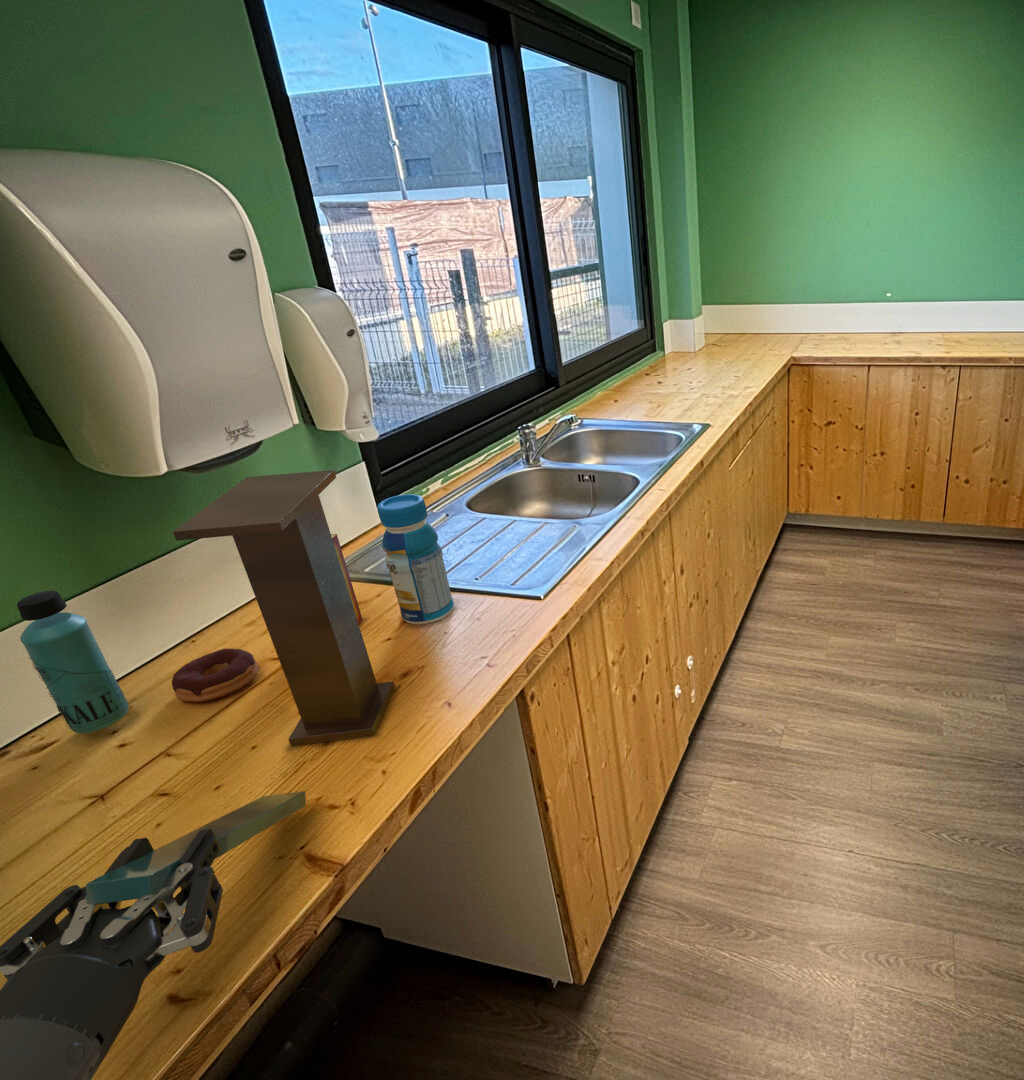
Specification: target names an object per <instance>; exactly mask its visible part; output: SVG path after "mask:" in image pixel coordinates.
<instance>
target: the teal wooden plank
mask: <svg viewBox="0 0 1024 1080" xmlns="http://www.w3.org/2000/svg"><path fill="white" fill-rule="evenodd" d="M306 799H307V797H306V791H305V790H304V791H303V790H302V791H295V792H287V793H278V794H270V795H263V796H261V797H258V798H257V799H255V800H252V801H250V802H248V803H246V804H244V805H243V806H240V807H238V808H237V809H234V810H233V811H231V812H228V813H226V814H224V815H222V816H220V817H218V818H216V819H214V820H212V821H210V822H208V823H206V824H204V825H201V826H199V827H198V828H196V829H194V830H192V831H190V832H188V833H186V834H184V835H182V836H180V837H178V838H176V839H173V840H172V841H170V842H167V843H166V844H164V845H162V846H160V847H158V848H156V849H154V851H152V852H150V853H148V854H146V855H144V856H142V857H140V858H138V859H136V860H133V861H131V862H129V863H127V864H125V865H123V866H121V867H119V868H117V869H115V870H113V871H111V872H109V873H107V874H105V873H104V874H105V875H104V874H102V875H103V876H101V875H100V876H101V877H99V876H98V877H99V878H97V877H96V878H97V879H96V878H94V880H91V881H89V882H87V883H86V884H85V886H86V898H87V904H89V903H96V904H104V903H111V902H119V901H122V902H125V901H132V900H133V901H134V900H138V899H139V898H140V897H141V896H144V895H150V894H151V893H152V892H153V890H154V889H155V888H156V887H161V886H162V885H163V884H164V882H165V881H166V879H167V878H168V876H169V875H170V874H171V873H172V872H173V871H174V870H175V869H176V868H177V867H179V865H178V863H179V861H180V860H181V857H182V856H183V854H184V853H185V851H186V850H187V848H188V847H189V845H190V844H191V842H192V841H193V839H194V838H195V836H196V835H197V833H198V832H199V831H200V830H204V829H212V831H213V833H214V834H215V836H216V838H217V840H218V842H219V844H220V852H219V853H218V855H217V856H216V858H215V860H217V859H218V858H220V857H221V856H223V855H225V854H227V853H228V852H230V851H231V850H233V849H236V848H237V847H238V846H240V845H242V844H244V843H245V842H247V841H248V840H250V839H252V838H254V837H256V836H257V835H259V834H260V833H263V832H264V831H265V830H267V829H269V828H271V827H272V826H274V825H276V824H277V823H279V822H281V821H283V820H284V819H286V818H288V817H289V816H291V815H292V814H293V815H294V813H296V812H298V811H299V810H301V809H303V808H305V807H306V806H307V800H306Z"/></svg>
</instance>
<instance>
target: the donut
mask: <svg viewBox="0 0 1024 1080" xmlns="http://www.w3.org/2000/svg"><path fill="white" fill-rule="evenodd" d="M259 671H260V666H259V663H258V662H257V661H256V659H255V657H254V655H253V653H251V652H249V651H247V650H244V649H242V648H241V649H240V648H222V649H218V650H215V651H213V652H210V653H207V654H204V655H202V656H200V657H197V658H195V659H193V660H191V661H189V662H187V663H185V664H184V665H183V666H182V667H180V668H179V669H178V670H177V671H176V672H175V673H173V676H172V679H171V686H172V690H173V692H174V694H175V697H176V698H177V699H179V700H181V701H185V702H193V703H194V702H197V703H198V702H208V701H212V700H216V699H219V698H222V697H225V696H228V695H230V694H232V693H235V692H236V691H238V690H241V689H242V688H244V687H245V686H246V685H248V684H250V683H251V682H252V681H253V680H254V679H255V678H256V677H257V676H258V674H259Z"/></svg>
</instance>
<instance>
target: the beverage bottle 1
mask: <svg viewBox="0 0 1024 1080" xmlns="http://www.w3.org/2000/svg"><path fill="white" fill-rule="evenodd" d="M16 607H17V610H18V612H19V616H20V617H21V619H22V620H23V621H24V622H25V621H26V622H29V621H32V622H30V623H29V624H28V625H27V626H26V627H25V629H24V630H23V631H22V633H21V635H20V637H19V640H20V642H21V644H22V645H23V646H24V648H25V649H26V652H27V653H28V657H29V660H31V662H32V664H33V665H32V667H33V669H34V670H35V671H36V672H37V676H39V679H40V680H41V681H42V683H43V684H45V685H44V686H46V687H45V690H48V692H47V694H48V695H49V697H50V698H51V701H53V703H54V705H55V707H56V710H57V711H58V713H59V715H60V716H61V719H63V720H64V722H65V726H66V727H67V728H68V729H69V730H70V731H72V732H73V733H76V734H91V733H93V732H97V731H101V730H103V729H106V728H108V727H110V726H113V725H114V724H116V723H118V722H119V721H120V720H122V719H123V718H124V717H126V716H127V714H128V712H129V710H130V704H129V699H128V698H127V697H126V696H125V693H124V691H123V689H122V688H121V687H120V686H121V685H119V683H118V680H117V679H116V677H115V674H114V673H113V670H111V668H110V666H109V664H108V662H107V660H106V658H105V656H104V654H103V652H102V650H101V648H100V646H99V644H98V642H97V640H96V638H95V636H94V634H93V632H92V629H91V628H90V626H89V624H88V620H87V618H86V616H83V615H80V614H77V613H73V612H66V611H65V612H64V610H65V609H66V608H67V602H66V601H65V600H64V599H63V597H62V596H61V594H60V593H59V592H58V591H57V590H45V591H41V592H39V591H38V592H35V593H33V594H32V593H31V594H30V595H27V596H25V597H23V598H21V599H20V600H18V601H17V603H16Z"/></svg>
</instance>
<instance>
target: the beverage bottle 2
mask: <svg viewBox="0 0 1024 1080" xmlns="http://www.w3.org/2000/svg"><path fill="white" fill-rule="evenodd" d="M377 513H378V517H379V521H380V524H381V525H382V526H383V528H385V531H384V533H383V537H382V543H381V546H382V550H383V551H384V552H385V554H386V555H385V560H384V561H385V565H386V567H387V570H388V572H389V575H390V578H391V582H392V585H393V586H392V587H393V589H394V592H395V595H396V599H397V603H398V606H399V607H398V608H399V612H400V616H401V618H402V620H403V621H404V622H406V623H408V624H411V625H427V624H431V623H434V622H438V621H441V620H442V619H444V618H446V617H448V615H449V614H451V613H452V611H453V610H454V607H455V603H454V600H453V596H452V592H451V588H450V584H449V583H450V582H449V579H448V575H447V570H446V566H445V562H444V554H443V548H442V547H441V545H440V544H439V543H438V540H439V535H438V532H437V531H436V530H435V528H434V527H433V526H432V525H431V523H429V522H428V521H426V520H427V519H428V510H427V506H426V502H425V500H424V497H423V496H421V495H419V494H413V493H408V494H399V495H393V496H391V497H388V498H385V499H383V500H381V502H379V503H378V504H377Z"/></svg>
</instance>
